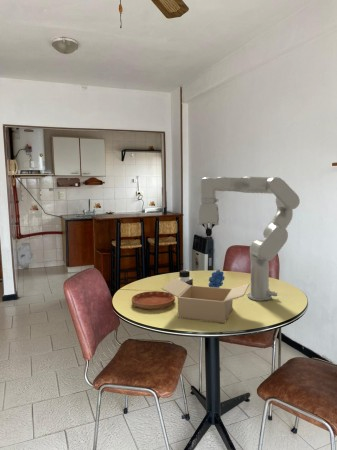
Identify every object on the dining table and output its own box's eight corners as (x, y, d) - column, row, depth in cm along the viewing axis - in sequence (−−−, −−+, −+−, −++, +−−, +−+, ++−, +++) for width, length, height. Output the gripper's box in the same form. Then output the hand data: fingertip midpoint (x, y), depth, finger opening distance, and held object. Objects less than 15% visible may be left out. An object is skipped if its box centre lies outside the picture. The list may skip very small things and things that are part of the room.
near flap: (232, 288, 173) (232, 289, 173) (224, 301, 155) (225, 302, 155) (249, 283, 169) (249, 284, 169) (243, 294, 152) (243, 296, 152)
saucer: (127, 300, 191) (126, 293, 190) (166, 294, 199) (166, 288, 198) (138, 314, 169) (138, 307, 169) (181, 307, 177) (181, 300, 177)
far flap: (178, 296, 163) (177, 297, 163) (189, 285, 180) (189, 285, 180) (161, 287, 165) (161, 288, 165) (174, 277, 183) (174, 278, 183)
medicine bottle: (186, 293, 200) (185, 272, 199) (176, 291, 204) (175, 271, 203) (193, 290, 206) (192, 270, 204) (183, 288, 210) (182, 268, 209)
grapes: (219, 286, 211) (219, 267, 210) (226, 289, 206) (226, 269, 204) (204, 289, 205) (204, 270, 204) (211, 292, 200) (211, 272, 198)
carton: (232, 308, 174) (232, 289, 173) (224, 323, 156) (224, 302, 155) (190, 303, 182) (190, 285, 181) (178, 317, 163) (177, 297, 162)
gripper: (223, 200, 182) (224, 235, 184) (196, 201, 187) (197, 234, 189) (221, 201, 175) (221, 237, 177) (192, 202, 180) (193, 236, 182)
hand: (208, 236), depth 183 cm, fingers closed
